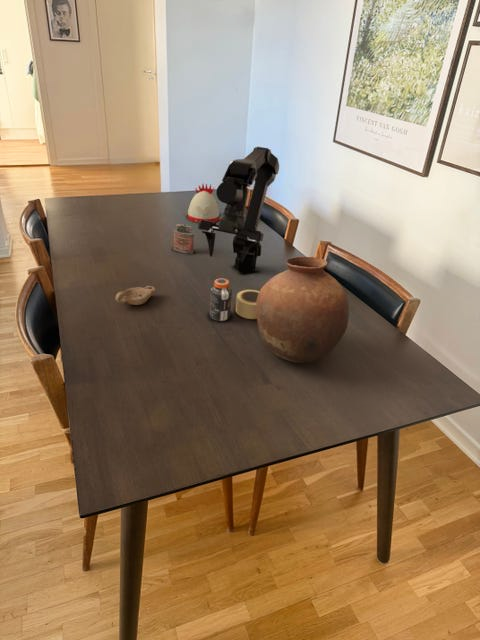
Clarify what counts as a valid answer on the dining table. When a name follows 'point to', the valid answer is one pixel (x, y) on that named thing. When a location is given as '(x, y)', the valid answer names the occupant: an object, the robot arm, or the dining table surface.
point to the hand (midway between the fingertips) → (225, 259)
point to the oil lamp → (135, 295)
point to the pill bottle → (220, 300)
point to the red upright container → (183, 239)
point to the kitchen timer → (203, 206)
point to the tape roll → (247, 304)
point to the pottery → (302, 311)
